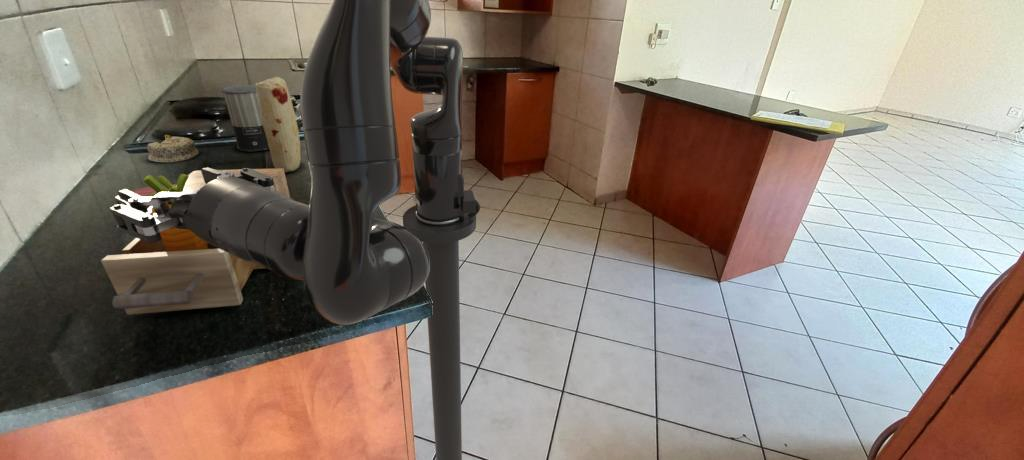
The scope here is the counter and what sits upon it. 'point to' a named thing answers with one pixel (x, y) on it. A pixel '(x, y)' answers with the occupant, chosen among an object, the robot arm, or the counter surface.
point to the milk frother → (246, 117)
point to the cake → (172, 149)
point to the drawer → (175, 278)
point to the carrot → (174, 236)
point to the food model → (279, 123)
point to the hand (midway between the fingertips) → (167, 186)
